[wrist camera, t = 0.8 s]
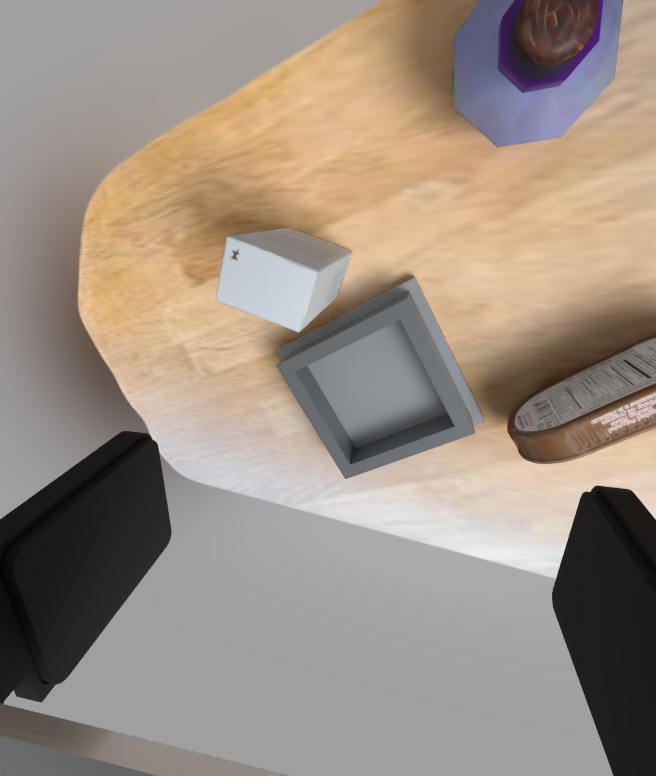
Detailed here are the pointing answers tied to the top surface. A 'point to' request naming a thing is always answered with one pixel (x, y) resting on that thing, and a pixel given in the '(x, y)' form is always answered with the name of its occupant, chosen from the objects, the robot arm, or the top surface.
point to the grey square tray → (380, 382)
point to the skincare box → (281, 275)
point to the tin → (589, 408)
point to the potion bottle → (533, 65)
